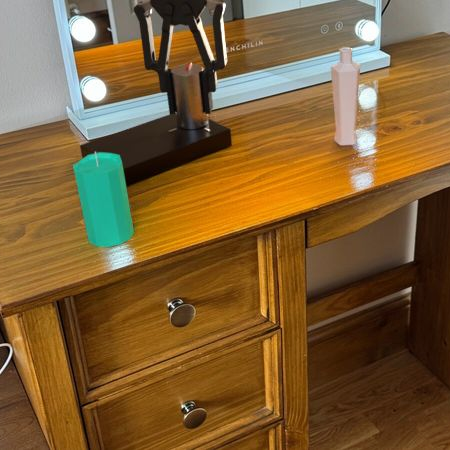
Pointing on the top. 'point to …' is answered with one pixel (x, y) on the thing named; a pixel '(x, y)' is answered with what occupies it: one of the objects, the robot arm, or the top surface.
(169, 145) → the block
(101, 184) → the candle
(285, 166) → the top surface
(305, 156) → the top surface
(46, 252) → the top surface
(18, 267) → the top surface
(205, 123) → the silver metal cylinder
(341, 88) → the perfume bottle
